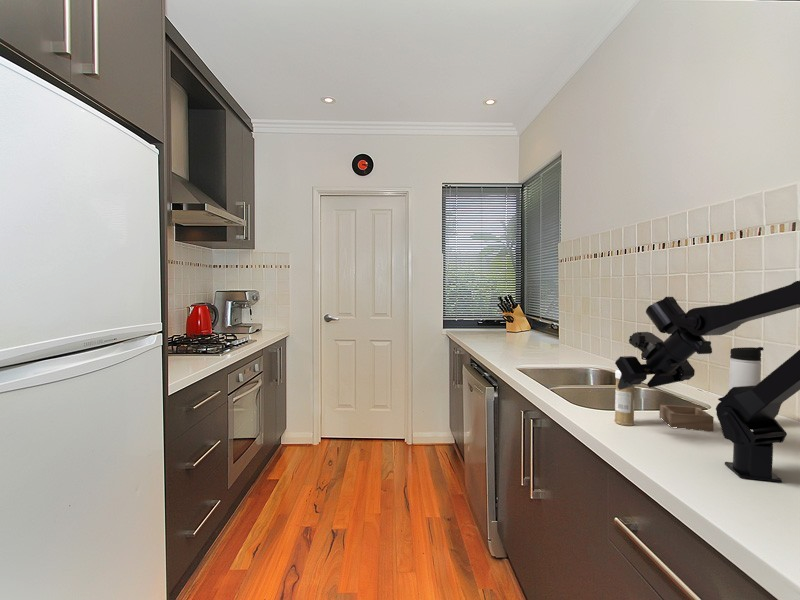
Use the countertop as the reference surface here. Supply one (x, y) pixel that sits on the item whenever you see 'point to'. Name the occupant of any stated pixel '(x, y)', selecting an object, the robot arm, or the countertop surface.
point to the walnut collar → (686, 417)
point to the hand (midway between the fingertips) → (633, 387)
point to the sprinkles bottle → (624, 403)
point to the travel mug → (745, 367)
